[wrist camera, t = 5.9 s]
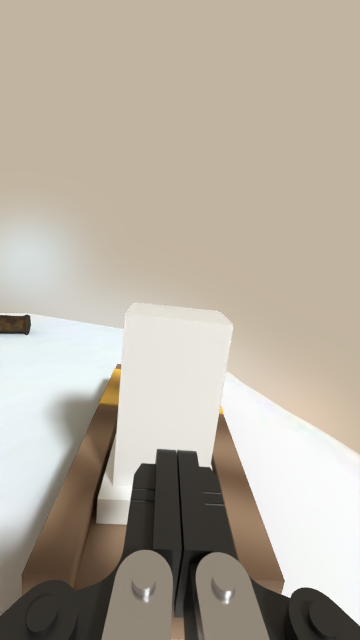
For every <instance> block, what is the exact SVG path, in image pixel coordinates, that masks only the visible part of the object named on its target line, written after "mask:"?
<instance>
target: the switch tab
mask: <svg viewBox="0 0 360 640" xmlns="http://www.w3.org/2000/svg"><path fill="white" fill-rule="evenodd" d="M232 332H233V324H232V323H231V322H230V321H229V320H228V319H227V318H226V317H225V316H224V315H223V314H222V313H221V312H220V311H212V310H203V309H194V308H184V307H174V306H165V305H154V304H146V303H136V302H134V303H133V304H132V305H131V307H130V308H129V309H128V311H127V312H126V314H125V323H124V337H123V350H122V364H121V378H120V392H119V406H118V420H117V433H116V435H115V439H114V442H113V446H112V449H111V453H110V456H109V460H108V464H107V467H106V471H105V474H104V478H103V481H102V485H101V488H100V492H99V495H98V499H97V517H96V523H100V524H124V525H127V520H128V513H129V506H130V499H131V492H132V485H133V478H134V474H135V472H136V471H137V469H138V468H139V466H140V465H141V463H147V464H155V460H156V452H157V449H170V450H176V452H177V450H187V451H196V452H197V456H198V462H199V467H210V468H211V469H212V466H211V460H212V453H213V447H214V441H215V435H216V429H217V423H218V417H219V411H220V405H221V399H222V393H223V386H224V380H225V374H226V368H227V362H228V356H229V350H230V344H231V338H232Z"/></svg>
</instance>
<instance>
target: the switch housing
mask: <svg viewBox="0 0 360 640" xmlns="http://www.w3.org/2000/svg"><path fill="white" fill-rule="evenodd" d="M120 378H121V364H117V366H116V368H115V369H114V371H113V373H112V376H111V378H110V380H109V382H108V384H107V387H106V389H105V391H104V393H103V395H102V397H101V400H100V402H99V406H98V408H97V410H96V412H95V414H94V417H93V419H92V421H91V423H90V425H89V428H88V430H87V432H86V434H85V436H84V439H83V441H82V443H81V445H80V447H79V450H78V452H77V454H76V456H75V458H74V461H73V463H72V465H71V467H70V469H69V472H68V474H67V476H66V478H65V481H64V483H63V485H62V487H61V489H60V492H59V494H58V496H57V498H56V500H55V503H54V505H53V507H52V509H51V511H50V514H49V516H48V518H47V520H46V522H45V525H44V527H43V529H42V531H41V533H40V536H39V538H38V540H37V542H36V544H35V547H34V549H33V551H32V553H31V555H30V558H29V560H28V562H27V564H26V566H25V569H24V571H23V573H22V596H23V595H24V594H25V593H26V592H28V591H29V590H30V589H31V588H33V587H35V586H36V585H38V584H40V583H42V582H45V581H49V580H61V581H64V582H66V583H68V584H69V585H70V586H71V587H72V588H73V589H74V591H77V590H80V589H83V588H86V587H88V586H91V585H94V584H96V583H98V582H100V581H102V580H103V579H105V578H106V577H107V576H108V575H109V574H110V573H111V572H112V571H113V570H114V569H115V567H116V566H117V565H118V563H119V561H120V559H121V556H122V553H123V548H124V541H125V534H126V527H127V525H124V524H100V523H96V517H97V499H98V495H99V492H100V488H101V485H102V481H103V478H104V474H105V471H106V467H107V464H108V460H109V456H110V453H111V449H112V446H113V442H114V439H115V435H116V433H117V420H118V406H119V392H120ZM211 466H212V471H213V472H214V473H215V475H216V476H217V478H218V480H219V484H220V488H221V495H222V497H223V501H224V507H225V509H226V513H227V518H228V522H229V526H230V530H231V534H232V539H233V543H234V547H235V551H236V555H237V558H238V560H239V562H240V564H241V565H242V566H243V567H244V569H245V570H246V572H247V574H248V575H249V576H250V577H251V578H252V579H253V580H254V581H255V582H256V583H258V584H259V585H261V586H263V587H265V588H267V589H269V590H272V591H274V592H276V593H279V594H281V593H282V589H283V585H284V582H285V580H284V578H283V575H282V572H281V570H280V567H279V564H278V562H277V559H276V556H275V553H274V551H273V548H272V545H271V543H270V540H269V537H268V534H267V532H266V529H265V526H264V524H263V521H262V518H261V515H260V513H259V510H258V507H257V505H256V502H255V499H254V496H253V494H252V491H251V488H250V486H249V483H248V480H247V478H246V475H245V472H244V469H243V467H242V464H241V461H240V459H239V456H238V453H237V450H236V448H235V445H234V442H233V440H232V437H231V434H230V431H229V429H228V426H227V423H226V421H225V418H224V415H223V410H222V407H221V405H220V411H219V417H218V423H217V429H216V435H215V441H214V447H213V453H212V460H211ZM171 640H185V636H184V618H174V605H173V612H172V619H171Z"/></svg>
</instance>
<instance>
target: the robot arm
mask: <svg viewBox="0 0 360 640" xmlns="http://www.w3.org/2000/svg"><path fill="white" fill-rule="evenodd" d="M173 605H174V618H184V636H185V640H360V626H359V625H358V624H357V623H356V622H355V621H354V620H353V619H351V618H350V617H349V616H348V615H347V614H346V613H345V612H344V611H343V610H342V609H341V608H340V607H339V606H338V605H337V604H335V603H334V602H333V601H332V600H331V599H330V598H329V597H327V596H326V595H324V594H323V593H321V592H319V591H317V590H315V589H312V588H300V589H297V590H296V591H294V593H293V594H292V595H291V598H288V597H286V596H283V595H281V594H279V593H276V592H274V591H272V590H269V589H267V588H265V587H263V586H261V585H259V584H258V583H256V582H255V581H254V580H253V579H252V578H251V577H250V576H249V575H248V574H247V572H246V570H245V569H244V567H243V566H242V565H241V564H240V562H239V560H238V558H237V555H236V551H235V547H234V543H233V539H232V534H231V530H230V526H229V522H228V518H227V513H226V509H225V507H224V501H223V497H222V495H221V488H220V484H219V480H218V478H217V476H216V475H215V473H214V472H213V471H212V469H211V468H210V467H199V462H198V456H197V452H196V451H187V450H177V452H176V450H170V449H157V452H156V460H155V464H147V463H141V465H140V466H139V468H138V469H137V471H136V472H135V474H134V478H133V485H132V492H131V499H130V506H129V513H128V520H127V527H126V534H125V541H124V548H123V553H122V556H121V559H120V561H119V563H118V565H117V566H116V567H115V569H114V570H113V571H112V572H111V573H110V574H109V575H108V576H107V577H106V578H105V579H103V580H102V581H100V582H98V583H96V584H94V585H91V586H88V587H86V588H83V589H80V590H77V591H74V589H73V588H72V587H71V586H70V585H69V584H68V583H66V582H64V581H61V580H49V581H45V582H42V583H40V584H38V585H36V586H35V587H33V588H31V589H30V590H29V591H28V592H26V593H25V594H24V595H23V596H22V597H21V598H20V599H19V600H18V601H16V602H15V603H14V604H13V605H12V606H11V607H10V608H9V609H8V610H7V611H5V612H4V613H3V614H2V615H1V616H0V640H171V619H172V612H173Z"/></svg>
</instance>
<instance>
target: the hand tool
mask: <svg viewBox="0 0 360 640" xmlns="http://www.w3.org/2000/svg"><path fill="white" fill-rule="evenodd" d="M30 326H31V321H30V316H29V315H25V316H7V315H5V316H4V315H0V332H5V333H25V335H28V333H29V331H30Z"/></svg>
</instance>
